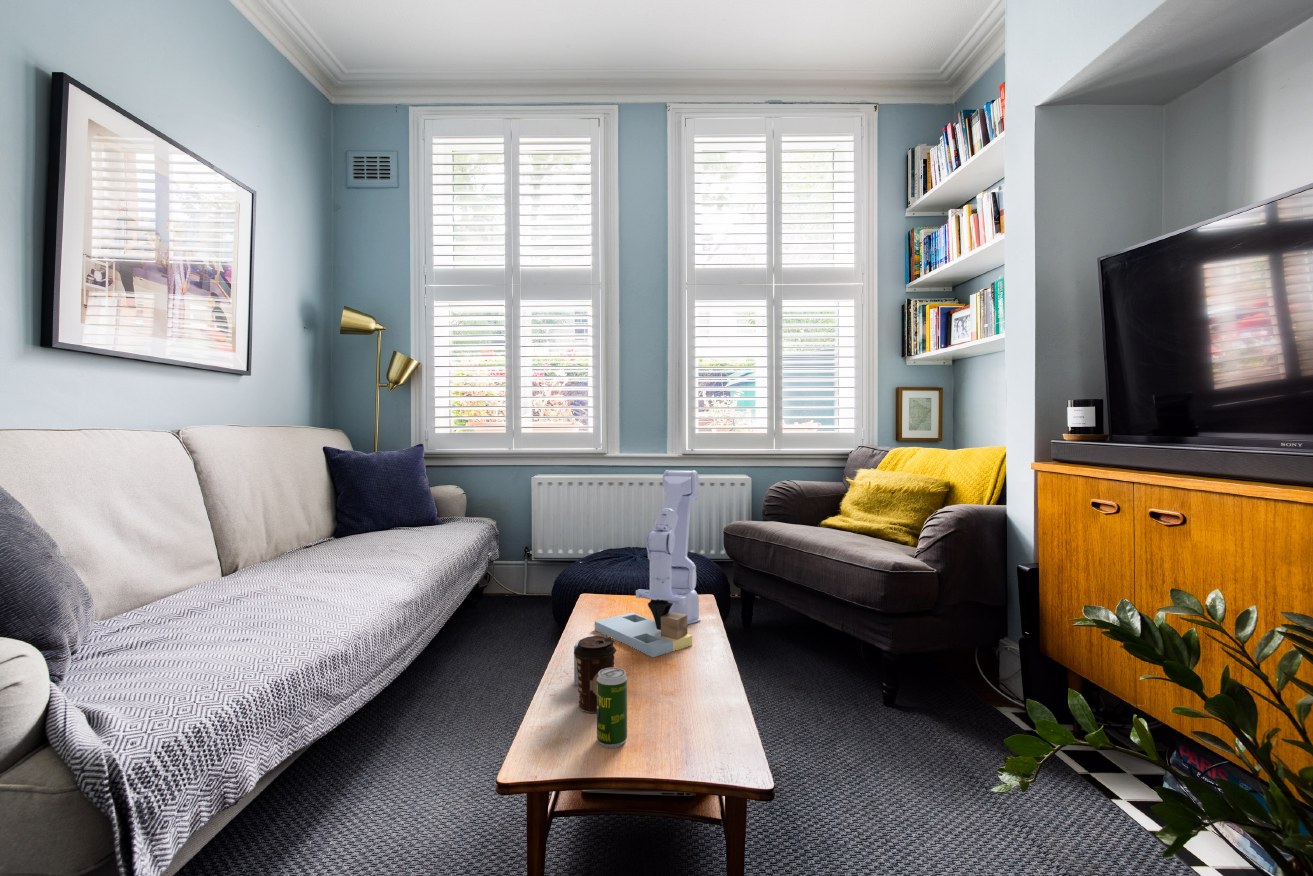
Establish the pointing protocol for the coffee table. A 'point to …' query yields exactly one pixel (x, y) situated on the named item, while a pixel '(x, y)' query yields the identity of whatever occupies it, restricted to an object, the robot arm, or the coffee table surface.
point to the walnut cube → (674, 625)
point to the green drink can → (611, 707)
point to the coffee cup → (592, 667)
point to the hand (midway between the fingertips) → (660, 628)
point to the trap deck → (640, 634)
